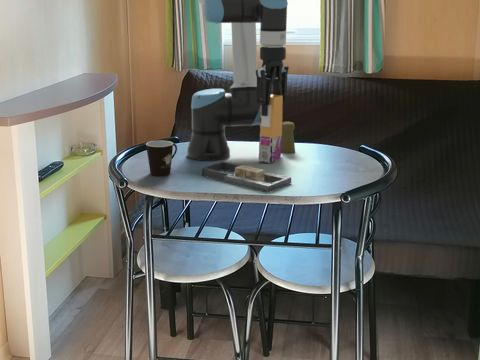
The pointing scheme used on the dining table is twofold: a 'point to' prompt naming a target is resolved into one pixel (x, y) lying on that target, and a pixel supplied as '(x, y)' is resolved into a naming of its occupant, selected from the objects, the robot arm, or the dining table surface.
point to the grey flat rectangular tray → (258, 185)
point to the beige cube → (242, 170)
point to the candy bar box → (269, 148)
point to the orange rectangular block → (274, 117)
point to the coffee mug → (160, 157)
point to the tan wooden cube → (255, 174)
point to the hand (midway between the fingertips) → (271, 124)
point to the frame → (218, 170)
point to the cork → (287, 138)
